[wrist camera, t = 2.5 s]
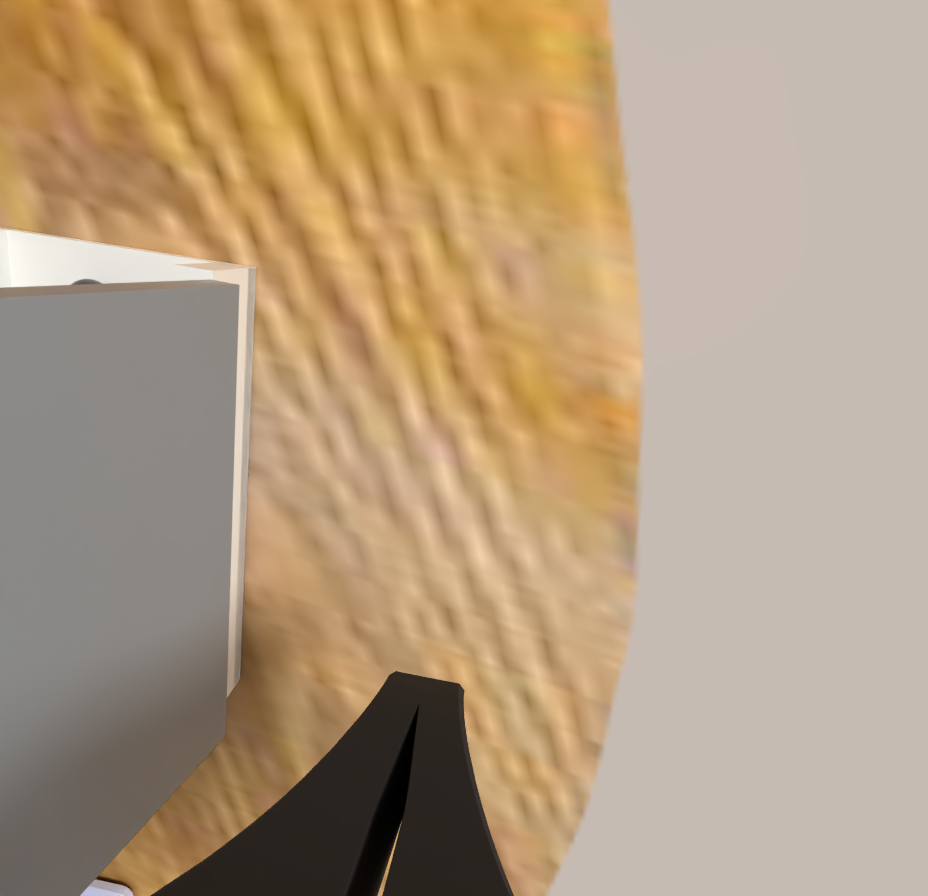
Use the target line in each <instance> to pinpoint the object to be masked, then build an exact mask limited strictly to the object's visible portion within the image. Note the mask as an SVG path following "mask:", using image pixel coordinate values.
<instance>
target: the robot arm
mask: <svg viewBox="0 0 928 896" xmlns="http://www.w3.org/2000/svg"><path fill="white" fill-rule="evenodd" d="M401 821H402V823H401ZM400 824H401V827H400ZM399 827H400V831H399V835H398V839H397V842H396V846H395V850H394V854H393V858H392V862H391V865H390V869H389V873H388V877H387V880H386V884H385V888H384V892H383V895H382V896H514V895H513V893H512V890H511V888H510V885H509V883H508V880H507V878H506V875H505V873H504V870H503V867H502V865H501V862H500V859H499V857H498V854H497V851H496V848H495V846H494V843H493V840H492V837H491V834H490V830H489V827H488V824H487V821H486V817H485V814H484V811H483V807H482V804H481V800H480V797H479V793H478V789H477V785H476V781H475V776H474V772H473V767H472V763H471V758H470V753H469V748H468V742H467V735H466V728H465V720H464V689H463V688H462V687H461V685H460V684H458V683H453V682H448V681H442V680H437V679H432V678H427V677H422V676H417V675H412V674H407V673H402V672H397V671H396V672H394V673H392V674H391V675H389V677H388V678H387V680H386V682H385V683H384V685H383V686H382V688H381V689H380V691H379V692H378V693H377V695H376V696H375V698H374V699H373V700H372V702H371V703H370V704H369V706H368V707H367V708H366V709H365V711H364V712H363V713H362V714H361V716H360V717H359V718H358V719H357V721H356V722H355V723H354V724H353V725H352V726H351V727H350V729H349V730H348V731H347V732H346V733H345V734H344V736H343V737H342V738H341V739H340V740H339V741H338V743H337V744H336V745H335V746H334V747H333V748H332V749H331V750H330V751H329V752H328V753H327V754H326V755H325V756H324V757H323V758H322V759H321V760H320V761H319V762H318V764H317V765H316V766H315V767H314V768H313V769H312V770H311V771H310V772H309V773H308V774H307V775H306V776H305V777H304V778H303V779H302V780H301V781H300V782H299V783H298V784H296V785H295V786H294V787H293V788H292V789H291V790H290V791H289V792H288V793H287V794H286V795H285V796H284V797H282V798H281V799H280V800H279V801H278V802H277V803H276V804H274V805H273V806H272V807H271V808H270V809H269V810H268V811H266V812H265V813H264V814H263V815H262V816H261V817H259V818H258V819H257V820H256V821H254V822H253V823H252V824H251V825H249V826H248V827H247V828H246V829H244V830H243V831H242V832H240V833H239V834H238V835H237V836H235V837H234V838H233V839H232V840H230V841H229V842H228V843H226V844H225V845H224V846H223V847H221V848H220V849H218V850H217V851H216V852H214V853H213V854H212V855H210V856H209V857H207V858H206V859H205V860H203V861H202V862H200V863H199V864H197V865H196V866H194V867H193V868H191V869H190V870H188V871H187V872H185V873H184V874H182V875H181V876H179V877H178V878H176V879H175V880H173V881H172V882H170V883H169V884H167V885H166V886H164V887H163V888H161V889H160V890H158V891H157V892H155V893H154V894H152V895H151V896H377V895H378V892H379V889H380V886H381V883H382V880H383V877H384V873H385V870H386V867H387V864H388V861H389V858H390V855H391V852H392V849H393V846H394V843H395V839H396V836H397V833H398V830H399ZM80 896H133V893H132V891H131V890H130V889H129V888H128V887H126V886H123V885H119V884H115V883H110V882H106V881H101V880H97V879H95V880H94V881H93V882H92V883H91V884H90V885H89V886H88V887H87V889H86V890H85V891H84V892H83V893H82V894H81V895H80Z"/></svg>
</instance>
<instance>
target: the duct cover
mask: <svg viewBox="0 0 928 896" xmlns="http://www.w3.org/2000/svg"><path fill="white" fill-rule="evenodd" d="M238 317H239V285H238V284H232V283H227V282H222V281H216V280H211V279H210V280H184V281H158V282H133V283H107V284H81V285H55V286H29V287H4V288H0V896H80V895H81V894H82V893H83V892H84V891H85V890H86V889H87V887H88V886H89V885H90V884H91V883H92V882H93V881H94V880H95V879H96V878H97V876H98V875H99V874H100V873H101V872H102V871H103V870H104V869H105V868H106V867H107V865H108V864H109V863H110V862H111V861H112V860H113V859H114V858H115V857H116V856H117V855H118V853H119V852H120V851H121V850H122V849H123V848H124V847H125V846H126V845H127V844H128V842H129V841H130V840H131V839H132V838H133V837H134V836H135V835H136V834H137V833H138V831H139V830H140V829H141V828H142V827H143V826H144V825H145V824H146V823H147V822H148V821H149V819H150V818H151V817H152V816H153V815H154V814H155V813H156V812H157V811H158V810H159V808H160V807H161V806H162V805H163V804H164V803H165V802H166V801H167V800H168V799H169V797H170V796H171V795H172V794H173V793H174V792H175V791H176V790H177V789H178V788H179V787H180V785H181V784H182V783H183V782H184V781H185V780H186V779H187V778H188V777H189V776H190V774H191V773H192V772H193V771H194V770H195V769H196V768H197V767H198V766H199V765H200V763H201V762H202V761H203V760H204V759H205V758H206V757H207V756H208V755H209V754H210V752H211V751H212V750H213V749H214V748H215V747H216V746H217V745H218V744H219V743H220V742H221V740H222V739H223V738H224V737H225V736H226V705H227V672H228V640H229V608H230V575H231V543H232V511H233V479H234V446H235V414H236V382H237V349H238Z"/></svg>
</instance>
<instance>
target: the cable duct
mask: <svg viewBox="0 0 928 896" xmlns="http://www.w3.org/2000/svg"><path fill="white" fill-rule="evenodd" d="M210 279H211V280H216V281H222V282H227V283H232V284H238V285H239V317H238V349H237V382H236V414H235V446H234V479H233V511H232V543H231V575H230V608H229V640H228V672H227V697H228V696H229V694H230V693H231V691H232V690H233V689H234V687H235V686H236V684H237V683H238V681H239V680H240V668H241V642H242V617H243V591H244V565H245V539H246V513H247V487H248V461H249V436H250V410H251V384H252V358H253V332H254V306H255V280H256V267H251V266H245V265H238V264H232V263H226V262H219V261H213V260H207V259H201V258H194V257H188V256H182V255H175V254H169V253H163V252H157V251H150V250H144V249H138V248H131V247H125V246H119V245H112V244H106V243H100V242H94V241H87V240H81V239H75V238H68V237H62V236H56V235H49V234H43V233H37V232H31V231H24V230H18V229H12V228H5V227H0V288H4V287H29V286H55V285H81V284H107V283H133V282H158V281H184V280H210Z"/></svg>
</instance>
